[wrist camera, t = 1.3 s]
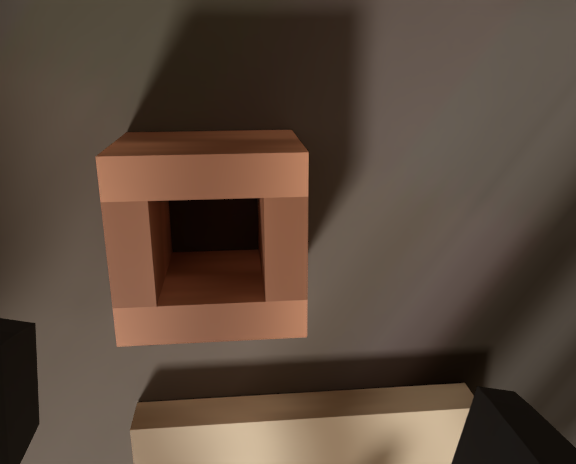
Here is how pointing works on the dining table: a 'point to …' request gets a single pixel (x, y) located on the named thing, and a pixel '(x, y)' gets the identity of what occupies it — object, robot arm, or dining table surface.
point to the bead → (205, 264)
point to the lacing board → (305, 427)
